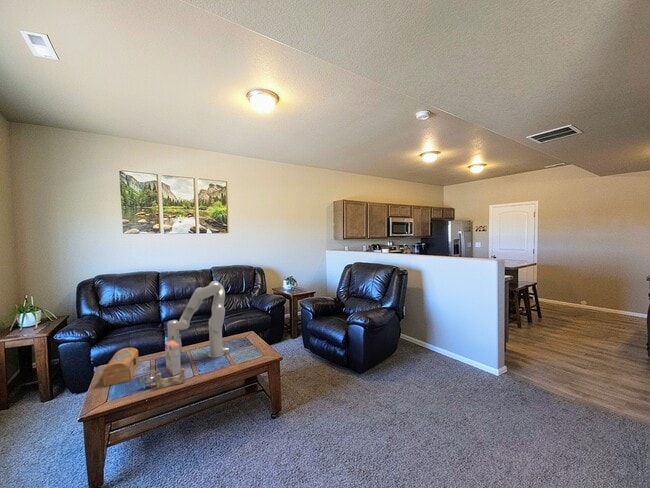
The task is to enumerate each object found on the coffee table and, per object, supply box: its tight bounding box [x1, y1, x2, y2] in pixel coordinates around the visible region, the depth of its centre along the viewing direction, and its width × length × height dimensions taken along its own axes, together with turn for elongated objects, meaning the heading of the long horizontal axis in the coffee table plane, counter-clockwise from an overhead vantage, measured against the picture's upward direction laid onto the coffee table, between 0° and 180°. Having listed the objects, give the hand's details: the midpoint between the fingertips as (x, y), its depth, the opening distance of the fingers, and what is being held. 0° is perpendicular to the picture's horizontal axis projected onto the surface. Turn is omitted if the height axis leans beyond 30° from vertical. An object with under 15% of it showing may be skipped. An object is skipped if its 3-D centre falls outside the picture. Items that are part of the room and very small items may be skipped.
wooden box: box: [102, 347, 139, 387], centre depth 198 cm, size 30×16×14 cm, turn 24°
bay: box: [156, 367, 186, 390], centre depth 185 cm, size 16×10×9 cm, turn 115°
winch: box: [136, 373, 158, 390], centre depth 179 cm, size 11×4×8 cm, turn 115°
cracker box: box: [164, 340, 182, 377], centre depth 199 cm, size 14×6×21 cm, turn 46°
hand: (174, 360), depth 213 cm, fingers closed
